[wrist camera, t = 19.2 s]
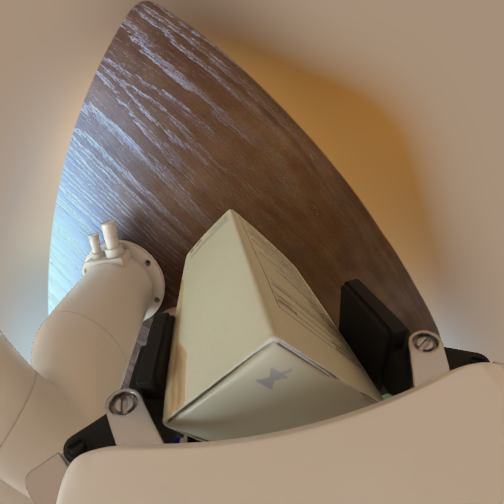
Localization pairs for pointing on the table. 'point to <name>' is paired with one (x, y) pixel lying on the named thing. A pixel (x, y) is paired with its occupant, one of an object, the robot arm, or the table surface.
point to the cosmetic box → (254, 344)
